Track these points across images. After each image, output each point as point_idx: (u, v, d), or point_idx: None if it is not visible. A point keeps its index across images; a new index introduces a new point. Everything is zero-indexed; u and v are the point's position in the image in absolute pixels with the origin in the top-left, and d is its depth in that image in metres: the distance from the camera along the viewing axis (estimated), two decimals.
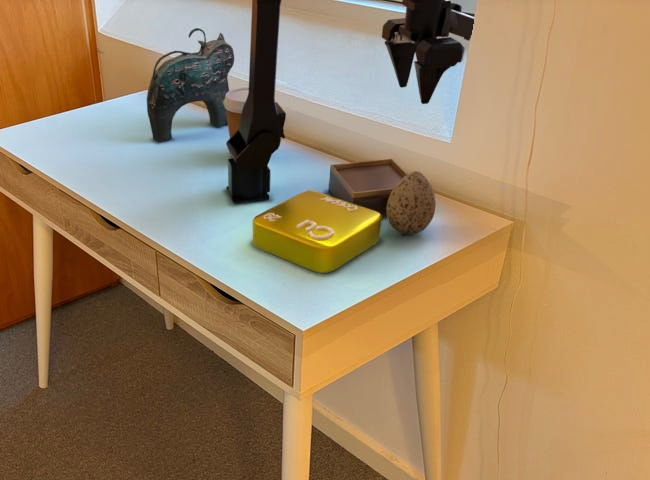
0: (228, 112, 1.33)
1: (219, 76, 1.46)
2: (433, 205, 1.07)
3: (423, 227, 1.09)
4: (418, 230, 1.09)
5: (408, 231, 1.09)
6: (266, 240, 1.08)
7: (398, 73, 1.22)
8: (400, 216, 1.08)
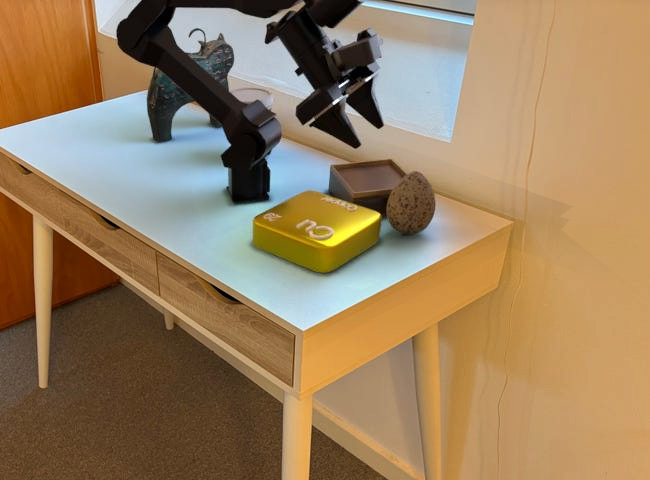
0: None
1: (219, 76, 1.46)
2: (433, 205, 1.07)
3: (423, 227, 1.09)
4: (418, 230, 1.09)
5: (408, 231, 1.09)
6: (266, 240, 1.08)
7: (367, 118, 1.12)
8: (400, 216, 1.08)
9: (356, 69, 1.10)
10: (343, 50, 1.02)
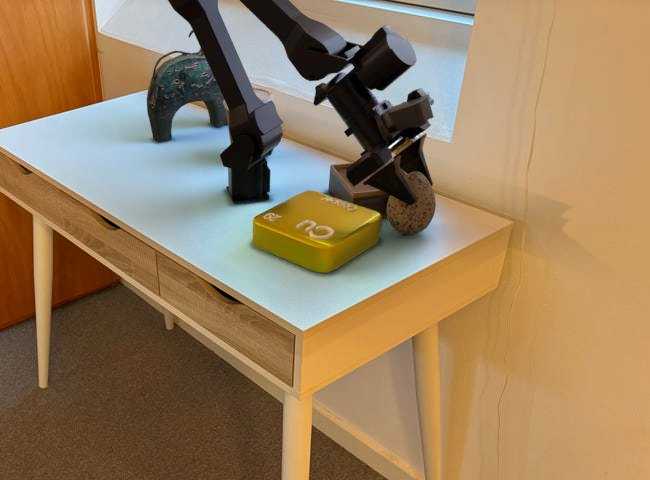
0: (228, 112, 1.33)
1: None
2: (433, 205, 1.07)
3: (423, 227, 1.09)
4: (418, 230, 1.09)
5: (408, 231, 1.09)
6: (266, 240, 1.08)
7: None
8: (401, 216, 1.08)
9: None
10: (393, 112, 1.01)
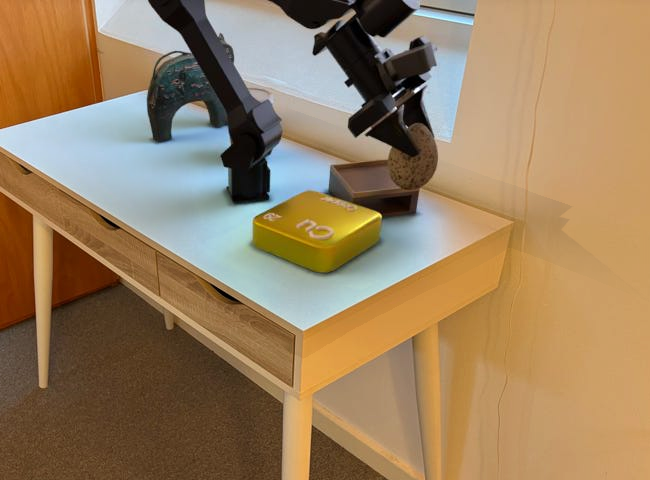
0: None
1: None
2: (436, 158, 1.05)
3: (425, 181, 1.06)
4: (420, 184, 1.06)
5: (410, 185, 1.06)
6: (266, 240, 1.08)
7: None
8: (403, 169, 1.05)
9: (407, 78, 1.06)
10: (396, 59, 0.98)
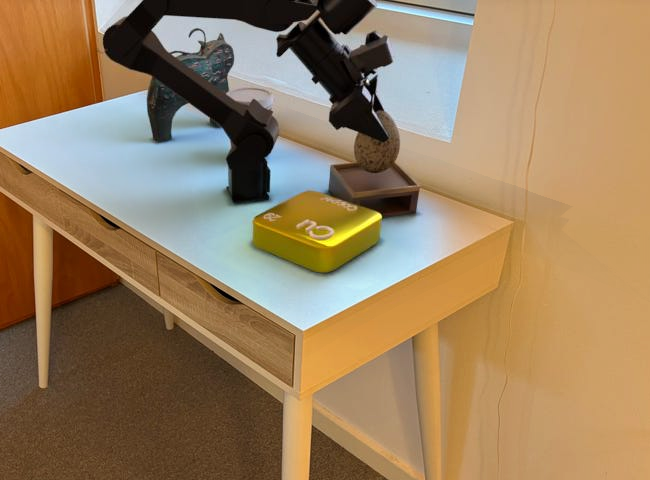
0: None
1: (219, 76, 1.46)
2: (399, 140, 1.14)
3: (392, 163, 1.15)
4: (388, 166, 1.15)
5: (380, 168, 1.15)
6: (266, 240, 1.08)
7: None
8: (374, 154, 1.13)
9: None
10: (363, 53, 1.06)
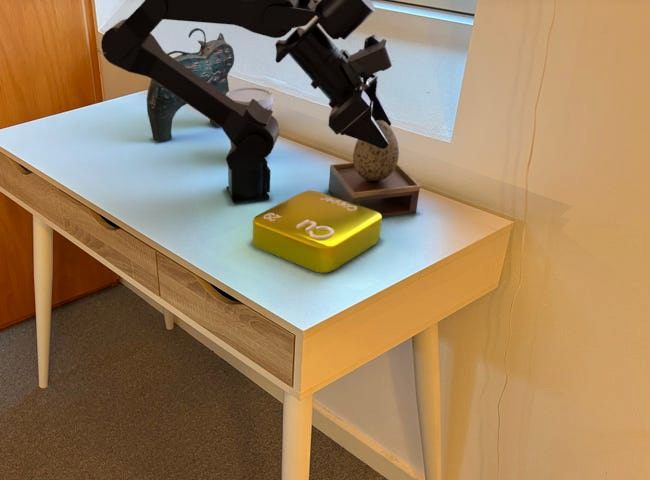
0: None
1: (219, 76, 1.46)
2: (398, 149, 1.15)
3: (391, 171, 1.16)
4: (387, 175, 1.16)
5: (379, 177, 1.16)
6: (266, 240, 1.08)
7: (374, 120, 1.18)
8: (373, 163, 1.14)
9: None
10: (361, 58, 1.06)
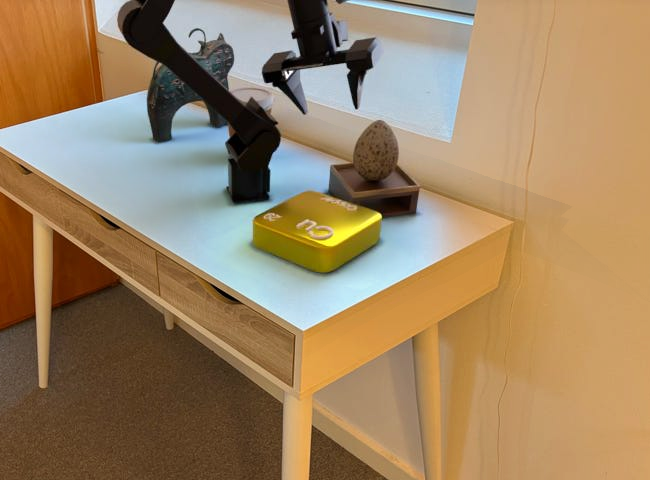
0: None
1: (219, 76, 1.46)
2: (398, 149, 1.15)
3: (391, 171, 1.16)
4: (387, 175, 1.16)
5: (379, 177, 1.16)
6: (266, 240, 1.08)
7: (300, 103, 1.21)
8: (373, 163, 1.14)
9: (291, 56, 1.18)
10: (340, 21, 1.14)
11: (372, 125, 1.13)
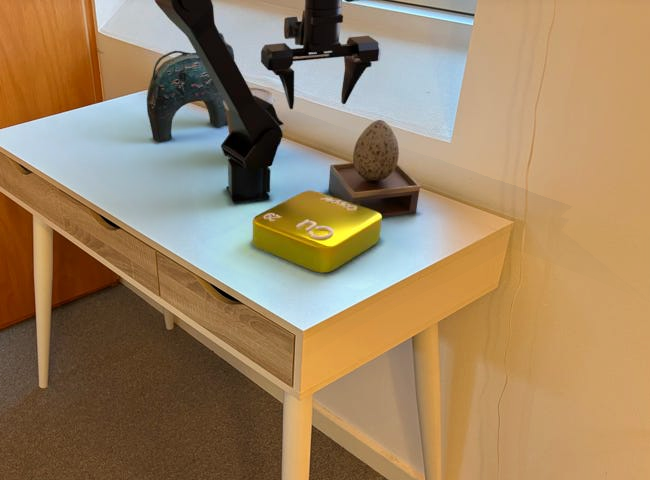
0: (228, 112, 1.33)
1: None
2: (398, 149, 1.15)
3: (391, 171, 1.16)
4: (387, 175, 1.16)
5: (379, 177, 1.16)
6: (266, 240, 1.08)
7: (293, 96, 1.20)
8: (373, 163, 1.14)
9: None
10: None
11: (372, 125, 1.13)
